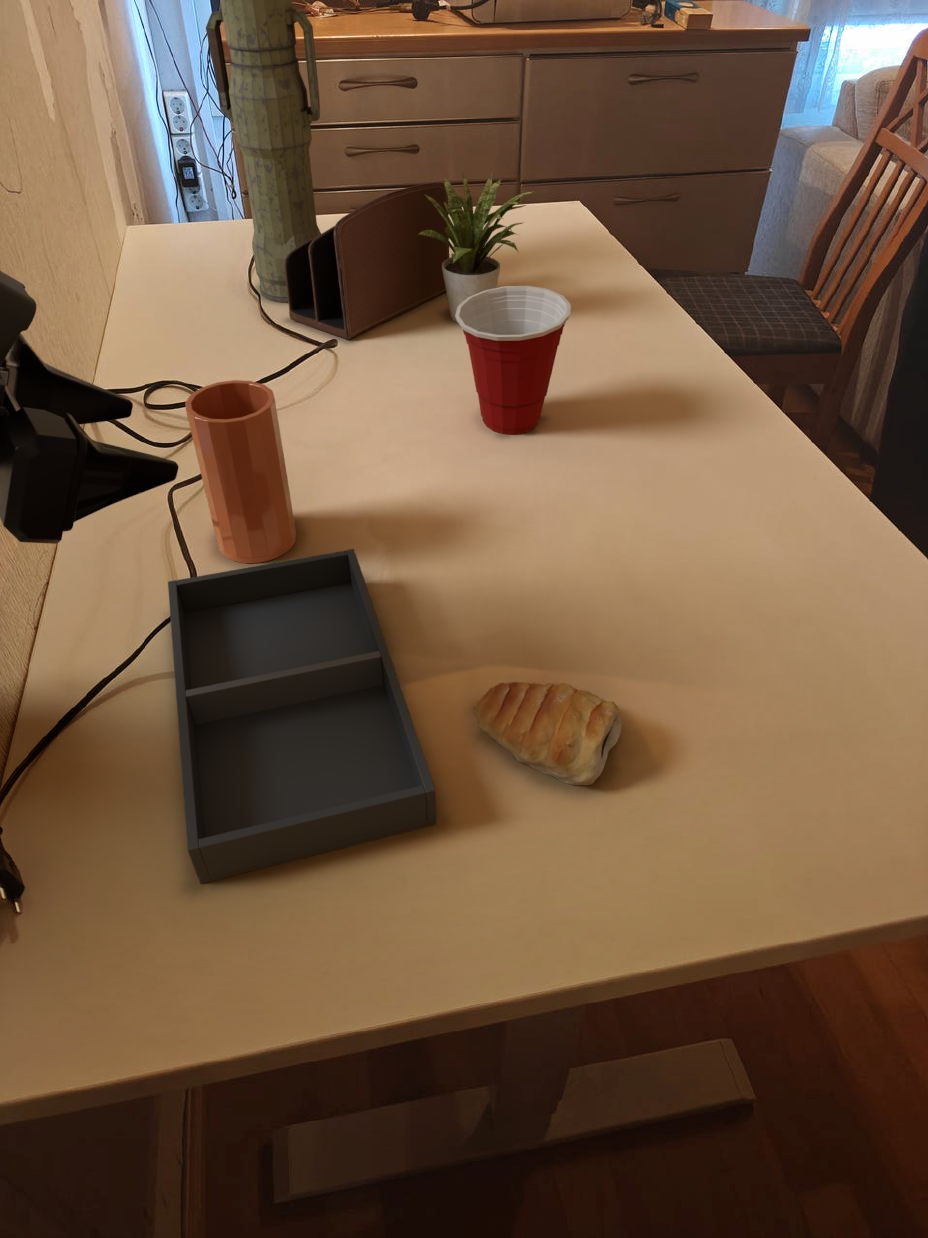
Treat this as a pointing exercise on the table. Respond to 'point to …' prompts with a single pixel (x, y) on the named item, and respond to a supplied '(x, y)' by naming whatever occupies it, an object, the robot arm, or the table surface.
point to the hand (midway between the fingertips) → (152, 438)
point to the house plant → (472, 241)
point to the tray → (290, 717)
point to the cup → (243, 469)
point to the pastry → (552, 727)
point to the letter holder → (370, 263)
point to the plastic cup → (513, 351)
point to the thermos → (270, 125)
